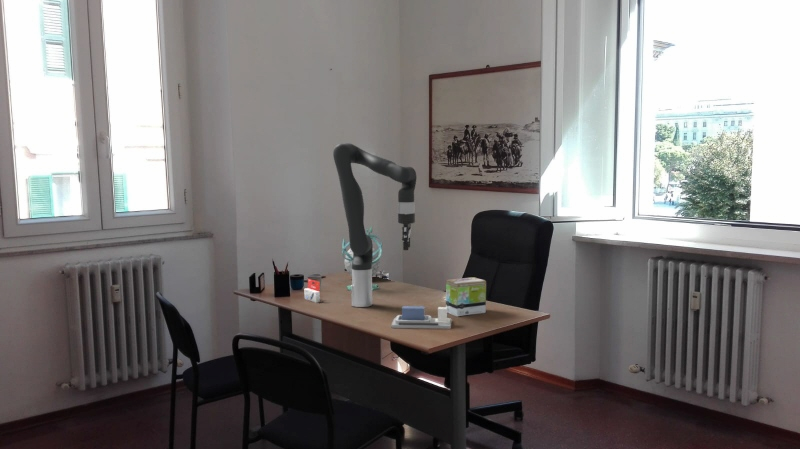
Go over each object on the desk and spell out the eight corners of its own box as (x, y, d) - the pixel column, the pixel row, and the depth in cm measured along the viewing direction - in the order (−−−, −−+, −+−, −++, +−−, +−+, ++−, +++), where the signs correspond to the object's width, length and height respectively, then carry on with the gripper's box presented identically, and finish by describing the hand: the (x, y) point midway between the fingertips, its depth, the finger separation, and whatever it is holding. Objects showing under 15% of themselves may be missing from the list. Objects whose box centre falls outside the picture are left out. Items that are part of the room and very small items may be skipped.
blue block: (402, 322, 269) (401, 308, 268) (403, 320, 273) (402, 306, 272) (424, 322, 268) (423, 308, 267) (424, 320, 272) (424, 306, 271)
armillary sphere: (359, 280, 363) (360, 218, 357) (392, 290, 345) (394, 224, 339) (329, 287, 347) (329, 222, 342) (362, 297, 330) (363, 228, 324)
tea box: (457, 317, 281) (457, 283, 279) (445, 312, 290) (445, 279, 288) (486, 313, 288) (486, 279, 286) (473, 308, 297) (473, 276, 295)
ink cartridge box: (316, 302, 312) (315, 282, 311) (304, 298, 321) (303, 279, 320) (320, 302, 314) (320, 281, 313) (308, 298, 322) (308, 278, 321)
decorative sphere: (386, 279, 366) (386, 244, 364) (355, 283, 355) (354, 247, 353) (368, 274, 383) (368, 240, 380) (338, 278, 372) (337, 243, 370)
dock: (391, 327, 265) (391, 310, 265) (394, 320, 277) (394, 304, 276) (450, 328, 263) (450, 311, 262) (451, 321, 275) (451, 304, 274)
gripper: (399, 210, 296) (400, 246, 298) (396, 213, 282) (396, 251, 284) (416, 210, 295) (416, 246, 297) (413, 213, 281) (414, 251, 283)
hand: (406, 248), depth 290 cm, fingers open, 8 cm apart
